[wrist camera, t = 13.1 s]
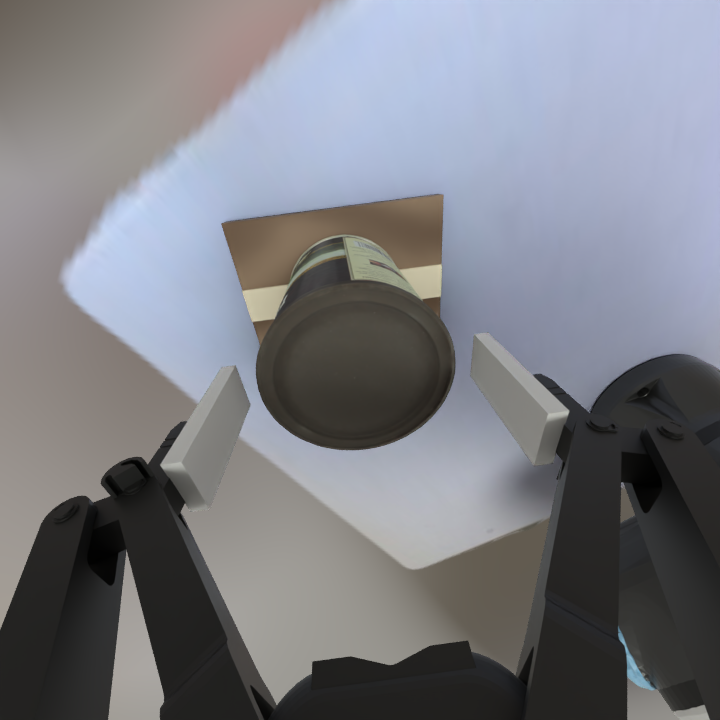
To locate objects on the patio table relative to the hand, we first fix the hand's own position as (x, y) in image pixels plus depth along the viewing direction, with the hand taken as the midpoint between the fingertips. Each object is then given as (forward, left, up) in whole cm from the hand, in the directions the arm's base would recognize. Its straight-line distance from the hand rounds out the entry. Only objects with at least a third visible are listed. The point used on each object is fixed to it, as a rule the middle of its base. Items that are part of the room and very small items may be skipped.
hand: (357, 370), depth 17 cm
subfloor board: (-1, 0, -14) cm, 14 cm away
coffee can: (0, 0, -13) cm, 13 cm away
